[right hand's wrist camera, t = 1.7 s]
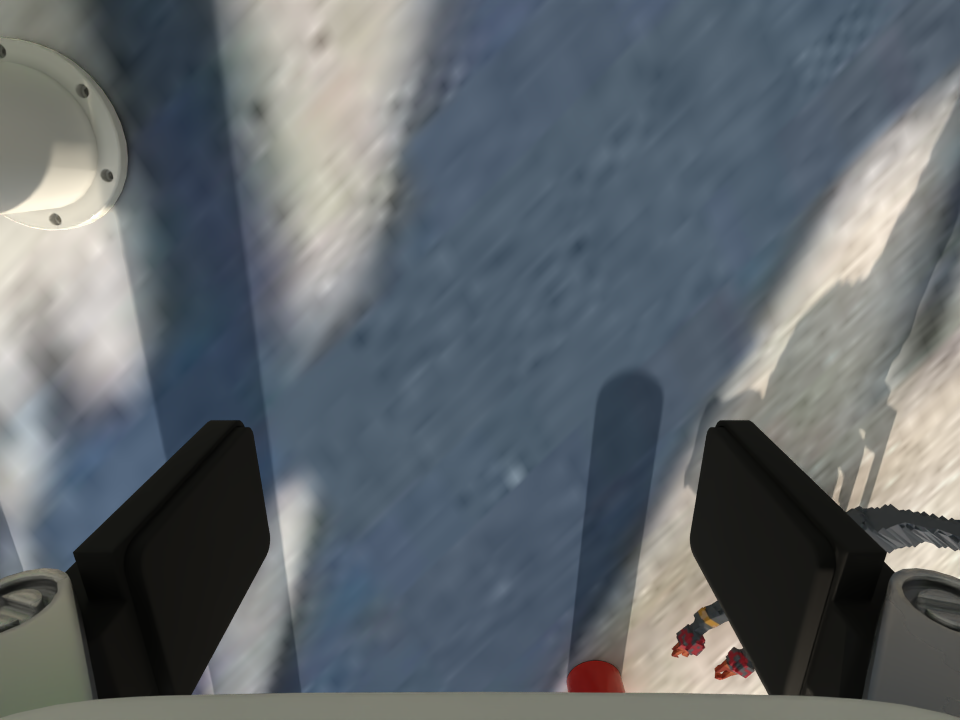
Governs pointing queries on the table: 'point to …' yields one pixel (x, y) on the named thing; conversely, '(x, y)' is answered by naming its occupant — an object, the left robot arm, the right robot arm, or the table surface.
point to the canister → (595, 678)
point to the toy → (880, 524)
